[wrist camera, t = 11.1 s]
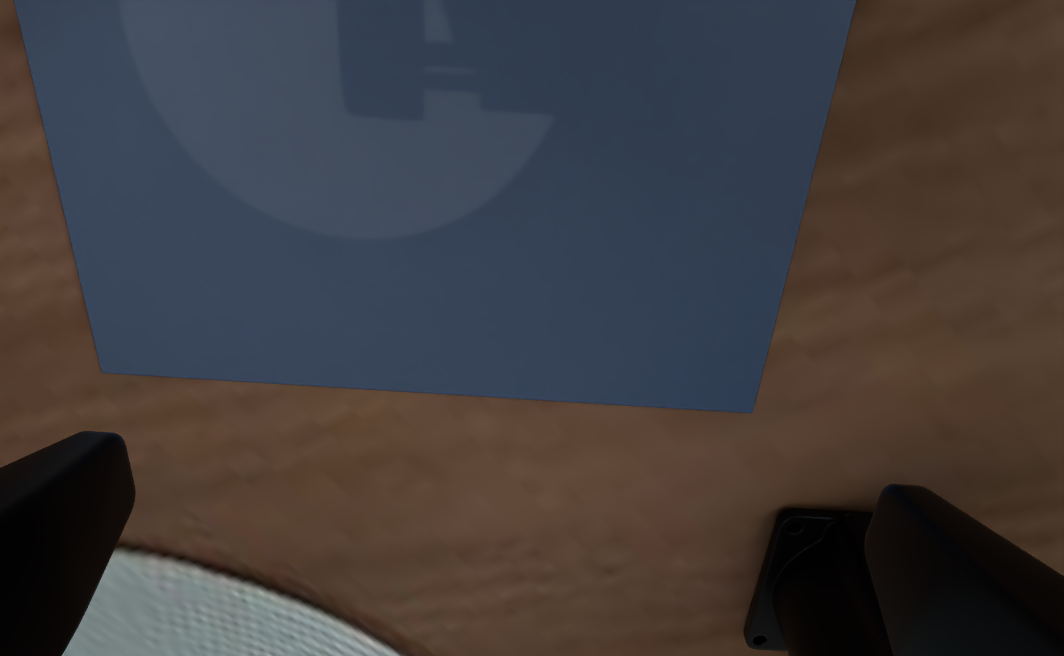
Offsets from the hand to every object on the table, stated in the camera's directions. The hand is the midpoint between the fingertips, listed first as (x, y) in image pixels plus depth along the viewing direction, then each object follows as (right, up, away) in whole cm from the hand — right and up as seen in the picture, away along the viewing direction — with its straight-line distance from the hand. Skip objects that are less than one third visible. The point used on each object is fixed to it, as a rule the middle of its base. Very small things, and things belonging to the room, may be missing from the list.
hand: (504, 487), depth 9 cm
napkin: (-2, +8, +10) cm, 13 cm away
